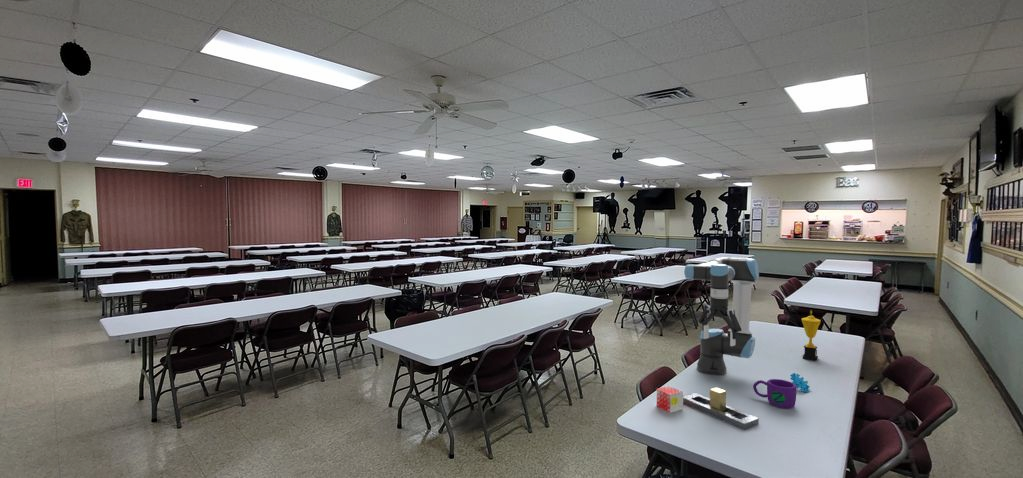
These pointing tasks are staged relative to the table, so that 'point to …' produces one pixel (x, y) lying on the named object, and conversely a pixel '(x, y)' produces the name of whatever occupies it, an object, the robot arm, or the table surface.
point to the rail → (728, 416)
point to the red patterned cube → (670, 399)
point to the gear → (800, 382)
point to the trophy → (810, 336)
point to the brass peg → (718, 399)
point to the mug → (779, 392)
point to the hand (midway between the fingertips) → (719, 341)
